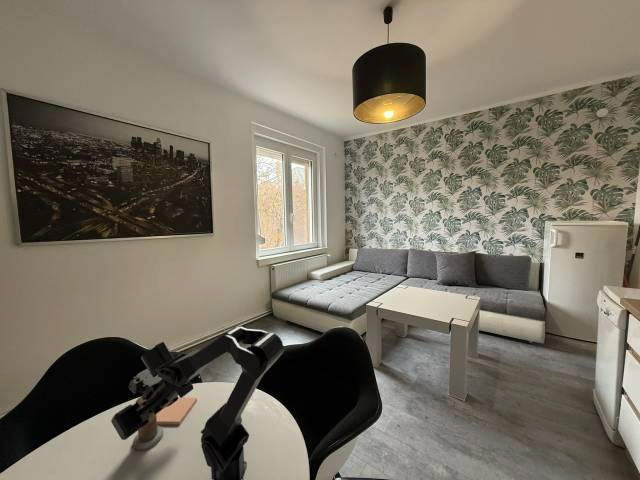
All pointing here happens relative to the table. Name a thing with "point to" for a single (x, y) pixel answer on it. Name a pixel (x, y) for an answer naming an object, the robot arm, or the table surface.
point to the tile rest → (175, 412)
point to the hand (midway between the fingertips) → (143, 415)
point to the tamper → (147, 432)
